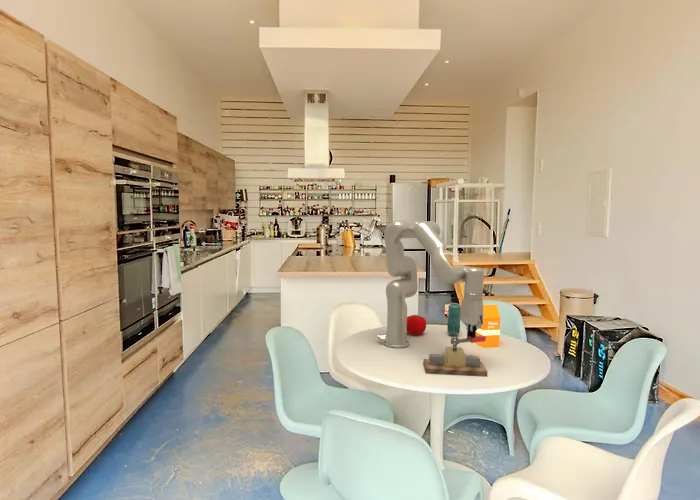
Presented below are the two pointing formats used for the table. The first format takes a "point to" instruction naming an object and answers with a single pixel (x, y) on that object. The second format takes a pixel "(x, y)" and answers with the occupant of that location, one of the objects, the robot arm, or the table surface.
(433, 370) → the board
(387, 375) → the table surface
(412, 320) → the tomato
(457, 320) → the beverage bottle
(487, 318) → the orange juice
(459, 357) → the valve
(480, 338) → the lever
